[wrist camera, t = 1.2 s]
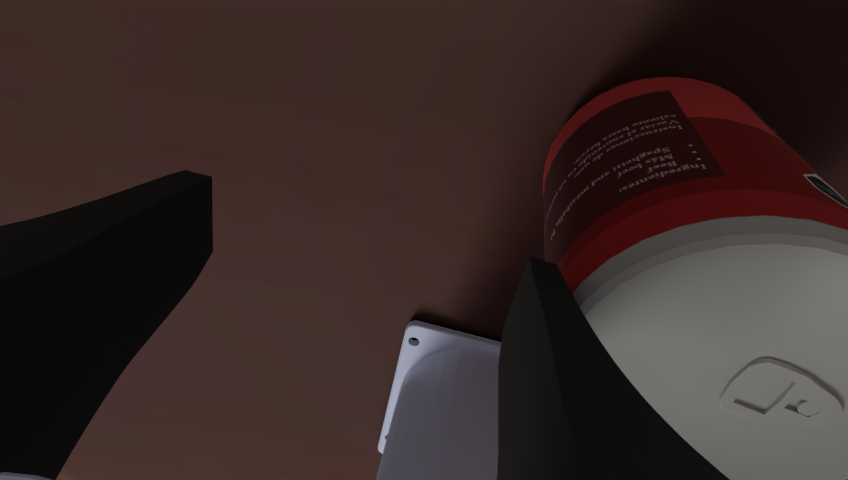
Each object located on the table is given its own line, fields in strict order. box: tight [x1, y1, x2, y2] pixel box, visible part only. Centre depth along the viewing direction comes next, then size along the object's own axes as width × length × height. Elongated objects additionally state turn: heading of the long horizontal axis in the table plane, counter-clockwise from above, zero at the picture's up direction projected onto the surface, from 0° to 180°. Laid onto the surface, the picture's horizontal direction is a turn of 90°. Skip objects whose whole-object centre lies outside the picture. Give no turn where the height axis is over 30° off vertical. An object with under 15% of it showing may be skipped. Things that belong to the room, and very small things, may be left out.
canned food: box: [543, 77, 848, 480], centre depth 17 cm, size 8×8×11 cm
